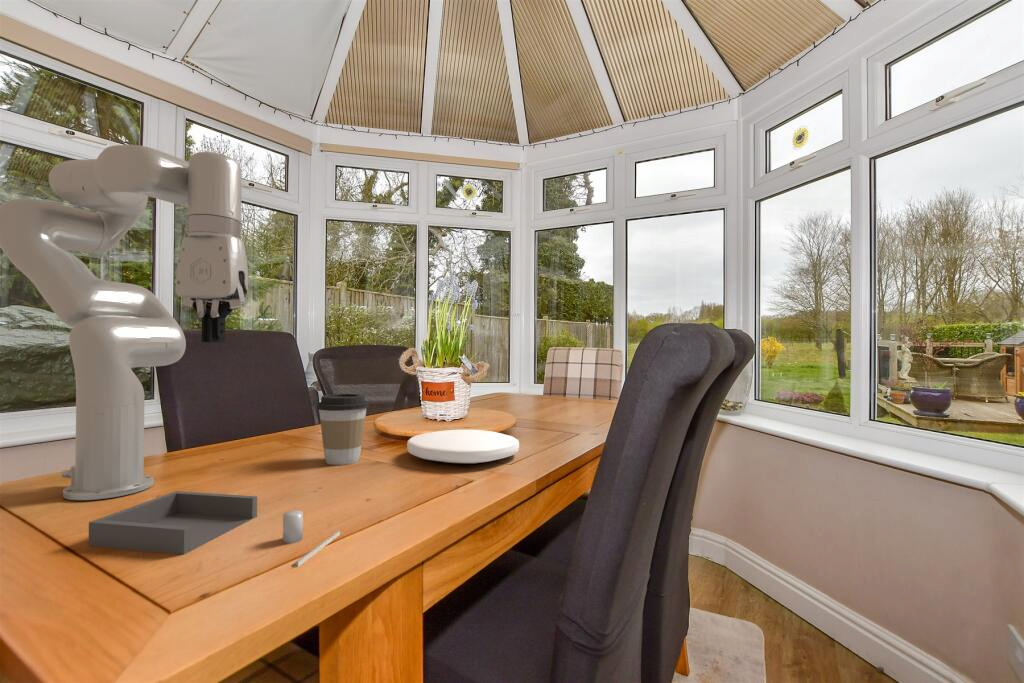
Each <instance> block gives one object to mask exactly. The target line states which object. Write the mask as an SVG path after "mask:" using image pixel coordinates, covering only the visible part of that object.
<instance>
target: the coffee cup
mask: <svg viewBox="0 0 1024 683" xmlns="http://www.w3.org/2000/svg"><path fill="white" fill-rule="evenodd" d="M365 397H366V396H365V395H364V394H361V393H360V394H359V393H336V394H335V393H334V394H324V395H322V396H321V399H320V401H319V402H318V403H316V406H317V407H316V409H317V410H318V413H319V420H320V427H321V428H320V430H321V438H322V446H323V447H322V448H323V455H324V460H325V463H326V464H327V465H332V466H346V465H352V464H355V463H358V462H359V458H360V457H361V450H362V442H363V435H364V429H365V422H366V415H367V408H370V405H369V402H368V400H366V399H365Z"/></svg>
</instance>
